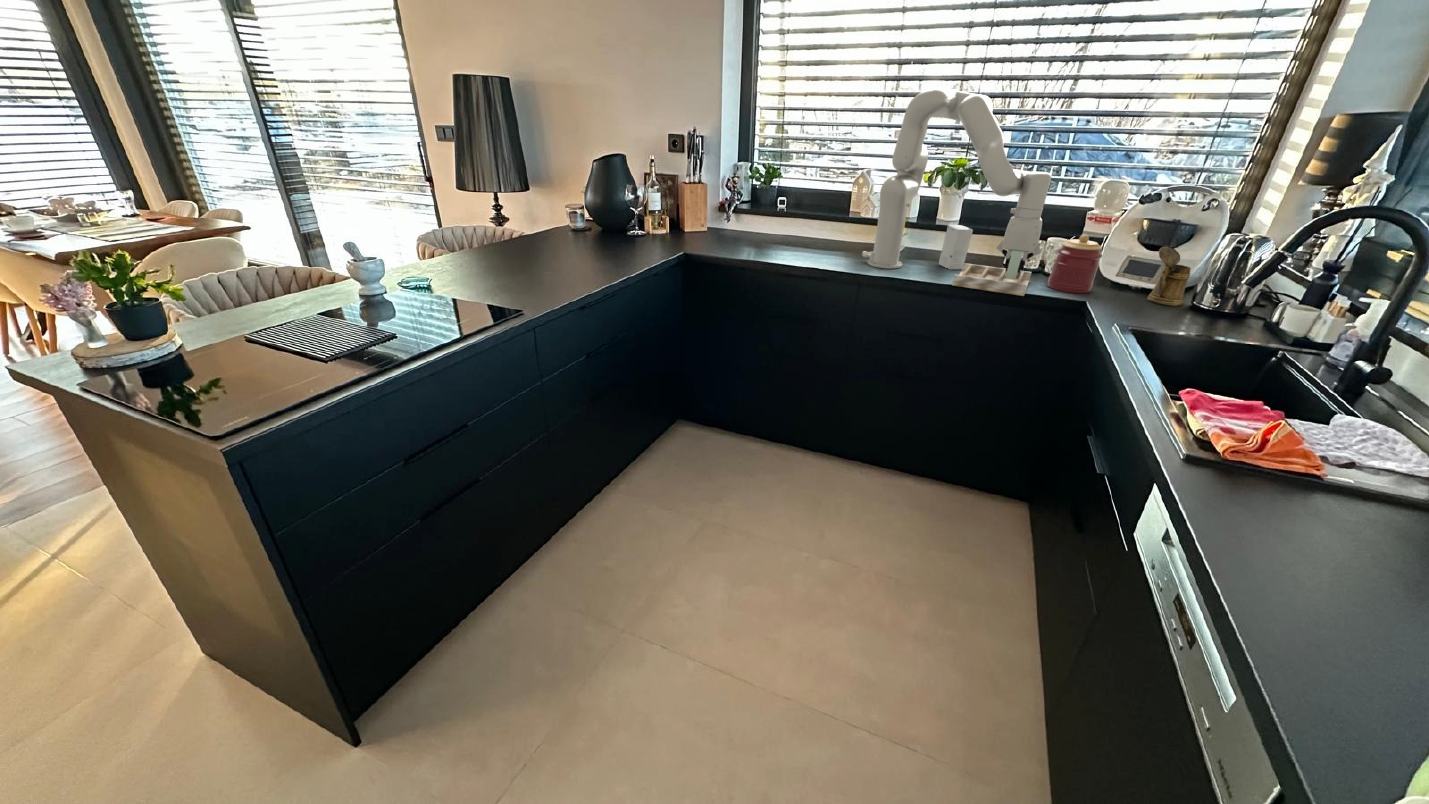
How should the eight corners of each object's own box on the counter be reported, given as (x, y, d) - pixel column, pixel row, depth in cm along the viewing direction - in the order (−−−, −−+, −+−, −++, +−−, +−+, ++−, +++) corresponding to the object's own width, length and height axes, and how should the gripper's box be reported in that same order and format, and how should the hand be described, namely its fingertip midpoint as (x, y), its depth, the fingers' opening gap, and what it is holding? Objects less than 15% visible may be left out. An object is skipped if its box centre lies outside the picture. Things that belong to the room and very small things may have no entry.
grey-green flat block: (1005, 278, 183) (1012, 250, 179) (1007, 273, 190) (1014, 246, 185) (1015, 279, 182) (1022, 252, 178) (1017, 274, 188) (1024, 247, 184)
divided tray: (951, 285, 187) (953, 274, 186) (961, 272, 203) (964, 263, 201) (1023, 295, 177) (1026, 285, 176) (1028, 282, 193) (1031, 272, 191)
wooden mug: (1130, 300, 175) (1152, 242, 167) (1159, 296, 180) (1182, 239, 171) (1158, 308, 168) (1183, 248, 160) (1188, 304, 172) (1213, 245, 164)
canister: (1049, 281, 195) (1064, 229, 186) (1092, 287, 188) (1110, 234, 180) (1043, 289, 185) (1060, 234, 177) (1088, 296, 179) (1107, 240, 170)
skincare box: (938, 264, 213) (946, 224, 207) (952, 264, 214) (961, 224, 207) (949, 269, 206) (958, 228, 199) (964, 269, 207) (973, 228, 200)
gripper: (998, 212, 177) (984, 270, 186) (1056, 217, 170) (1039, 277, 179) (1001, 209, 183) (987, 265, 192) (1057, 214, 176) (1040, 272, 184)
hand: (1012, 270), depth 185 cm, fingers closed on grey-green flat block, 3 cm apart
